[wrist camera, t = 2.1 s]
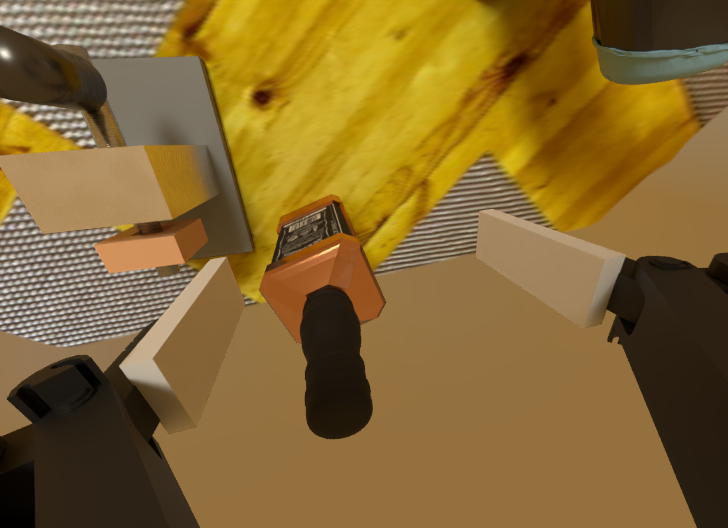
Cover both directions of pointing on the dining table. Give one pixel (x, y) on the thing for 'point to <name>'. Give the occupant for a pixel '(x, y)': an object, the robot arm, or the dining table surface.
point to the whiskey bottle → (325, 311)
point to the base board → (179, 134)
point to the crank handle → (63, 92)
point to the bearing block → (111, 184)
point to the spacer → (153, 246)
